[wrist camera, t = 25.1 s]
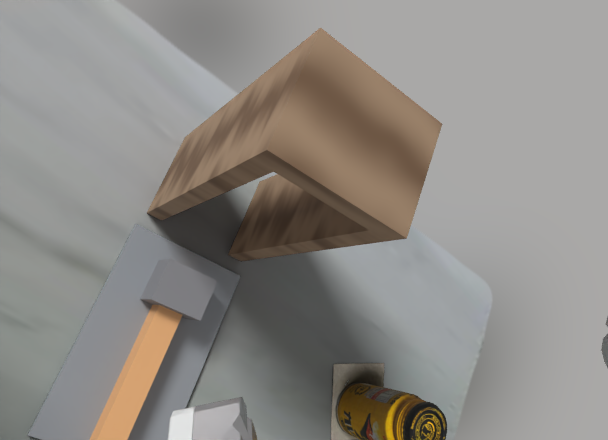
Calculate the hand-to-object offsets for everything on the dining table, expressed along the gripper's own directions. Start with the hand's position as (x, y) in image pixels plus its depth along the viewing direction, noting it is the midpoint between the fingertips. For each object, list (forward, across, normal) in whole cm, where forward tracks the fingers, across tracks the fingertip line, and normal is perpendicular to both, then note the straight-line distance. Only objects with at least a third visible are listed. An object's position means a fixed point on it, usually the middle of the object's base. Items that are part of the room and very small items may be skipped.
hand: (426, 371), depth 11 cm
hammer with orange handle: (+29, -19, -25) cm, 43 cm away
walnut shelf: (+41, -10, -17) cm, 45 cm away
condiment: (+32, 0, -43) cm, 53 cm away
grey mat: (+29, -19, -25) cm, 43 cm away
